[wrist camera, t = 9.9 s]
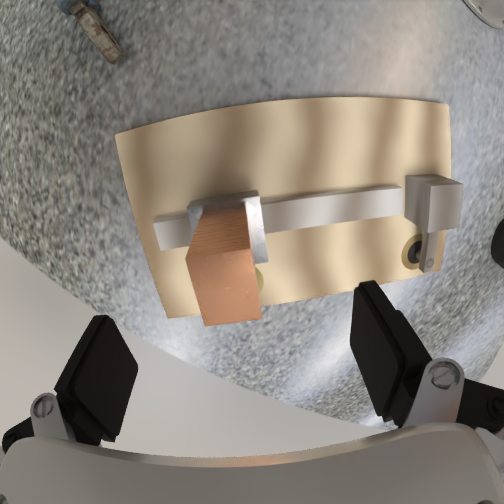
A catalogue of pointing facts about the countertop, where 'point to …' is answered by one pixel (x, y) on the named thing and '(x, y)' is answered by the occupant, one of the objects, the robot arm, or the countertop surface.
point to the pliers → (93, 26)
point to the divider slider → (226, 256)
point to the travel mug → (498, 245)
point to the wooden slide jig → (300, 191)
